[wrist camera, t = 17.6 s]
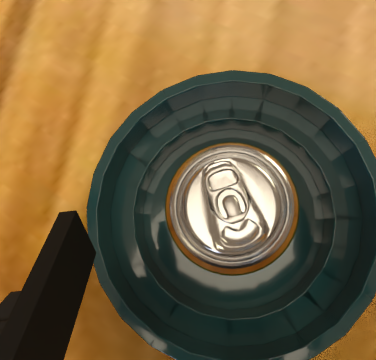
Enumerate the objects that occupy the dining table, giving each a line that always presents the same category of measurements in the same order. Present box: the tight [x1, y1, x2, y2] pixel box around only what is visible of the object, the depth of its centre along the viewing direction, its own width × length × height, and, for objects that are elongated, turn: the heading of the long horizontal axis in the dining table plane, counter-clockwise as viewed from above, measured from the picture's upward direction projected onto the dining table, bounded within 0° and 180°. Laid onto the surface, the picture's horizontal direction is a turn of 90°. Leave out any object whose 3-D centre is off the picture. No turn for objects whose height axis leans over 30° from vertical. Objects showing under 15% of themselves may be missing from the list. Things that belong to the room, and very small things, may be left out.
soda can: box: [165, 142, 300, 276], centre depth 17 cm, size 5×5×12 cm
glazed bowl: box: [87, 70, 376, 360], centre depth 21 cm, size 17×17×5 cm
